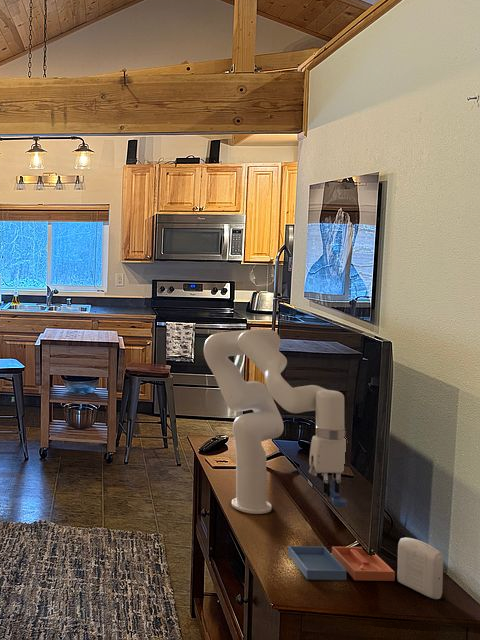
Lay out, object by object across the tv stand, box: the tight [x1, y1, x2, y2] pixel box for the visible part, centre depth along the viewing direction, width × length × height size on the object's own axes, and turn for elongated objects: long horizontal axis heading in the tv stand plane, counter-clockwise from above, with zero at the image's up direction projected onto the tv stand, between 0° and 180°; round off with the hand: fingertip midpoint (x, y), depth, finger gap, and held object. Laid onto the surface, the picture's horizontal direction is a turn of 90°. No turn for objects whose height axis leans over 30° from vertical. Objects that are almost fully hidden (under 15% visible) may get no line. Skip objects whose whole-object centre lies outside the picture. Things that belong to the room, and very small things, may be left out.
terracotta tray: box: [331, 546, 396, 582], centre depth 176 cm, size 14×10×2 cm
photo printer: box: [396, 537, 444, 600], centre depth 164 cm, size 10×4×12 cm, turn 23°
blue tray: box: [287, 545, 348, 581], centre depth 177 cm, size 14×10×2 cm
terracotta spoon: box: [350, 549, 377, 571], centre depth 176 cm, size 11×4×2 cm, turn 175°
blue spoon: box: [328, 488, 348, 508], centre depth 188 cm, size 11×4×2 cm, turn 177°
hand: (330, 494), depth 191 cm, fingers closed on blue spoon, 1 cm apart
